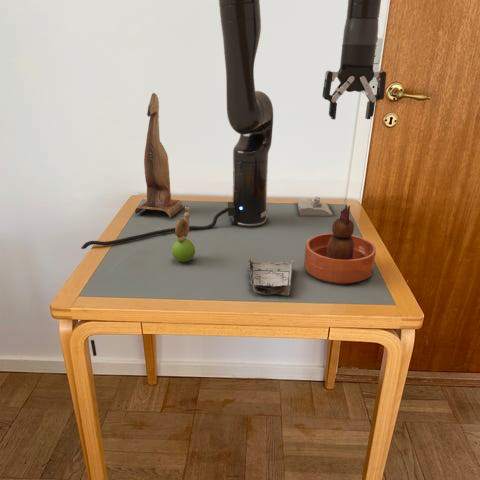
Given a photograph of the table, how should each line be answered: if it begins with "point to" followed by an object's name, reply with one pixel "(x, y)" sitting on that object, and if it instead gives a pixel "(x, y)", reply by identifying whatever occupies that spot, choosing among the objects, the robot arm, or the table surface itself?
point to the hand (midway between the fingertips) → (350, 118)
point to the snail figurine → (183, 240)
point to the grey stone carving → (313, 207)
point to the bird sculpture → (157, 167)
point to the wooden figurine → (342, 237)
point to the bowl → (339, 260)
